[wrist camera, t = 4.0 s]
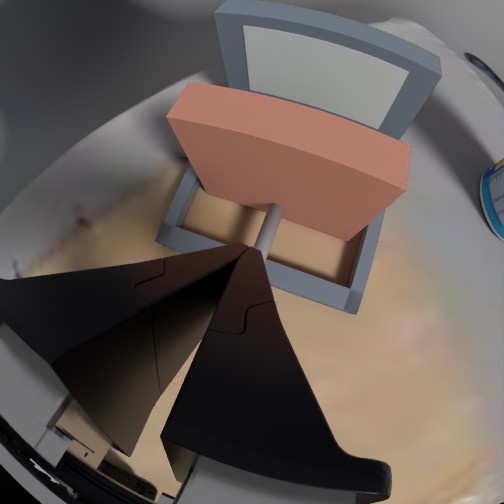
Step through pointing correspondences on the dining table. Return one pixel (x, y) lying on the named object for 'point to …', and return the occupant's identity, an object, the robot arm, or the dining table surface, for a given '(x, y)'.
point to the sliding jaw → (288, 160)
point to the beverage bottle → (494, 197)
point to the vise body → (314, 106)
